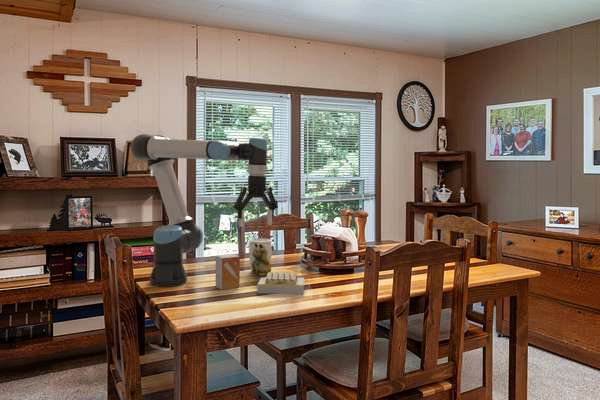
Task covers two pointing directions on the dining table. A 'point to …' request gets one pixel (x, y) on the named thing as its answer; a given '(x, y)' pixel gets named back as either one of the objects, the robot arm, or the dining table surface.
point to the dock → (281, 287)
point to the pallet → (281, 278)
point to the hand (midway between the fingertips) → (255, 225)
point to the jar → (259, 241)
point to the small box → (227, 271)
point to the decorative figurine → (260, 262)
